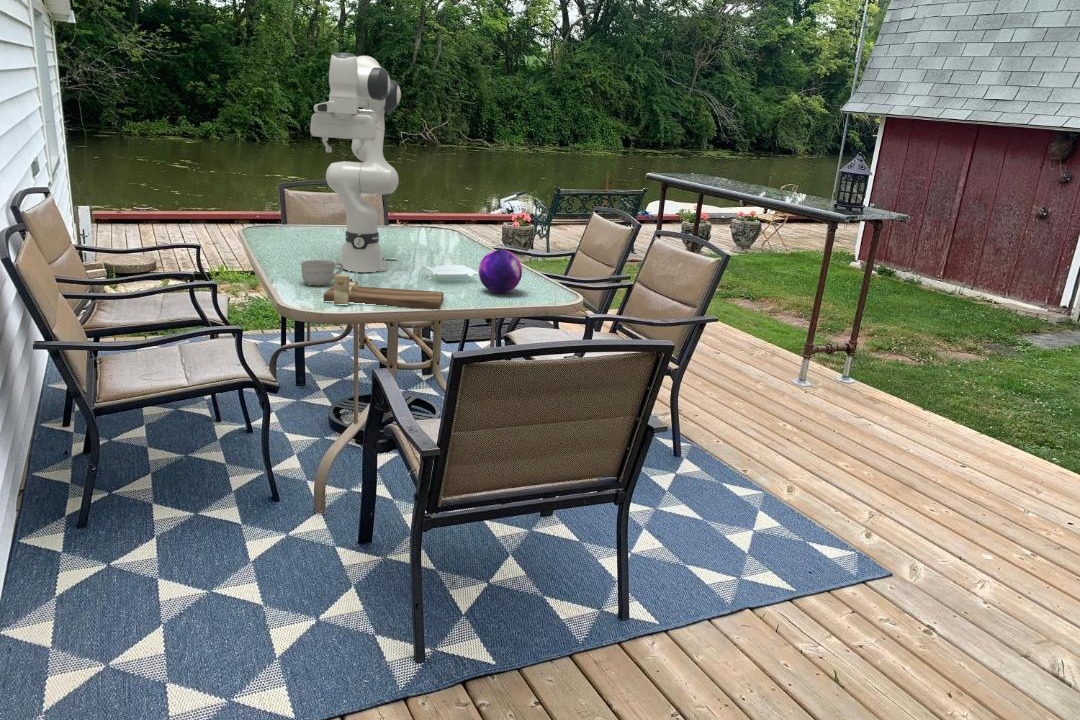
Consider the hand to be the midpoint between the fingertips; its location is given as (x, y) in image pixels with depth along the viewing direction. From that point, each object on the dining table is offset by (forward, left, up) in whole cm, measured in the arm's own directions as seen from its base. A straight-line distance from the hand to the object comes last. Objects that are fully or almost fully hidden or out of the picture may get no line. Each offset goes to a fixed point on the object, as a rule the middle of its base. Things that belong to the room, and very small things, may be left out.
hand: (343, 153), depth 255 cm
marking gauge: (+13, +3, -44) cm, 46 cm away
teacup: (-6, -9, -45) cm, 46 cm away
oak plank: (+11, +15, -44) cm, 48 cm away
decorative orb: (-11, +51, -45) cm, 69 cm away
